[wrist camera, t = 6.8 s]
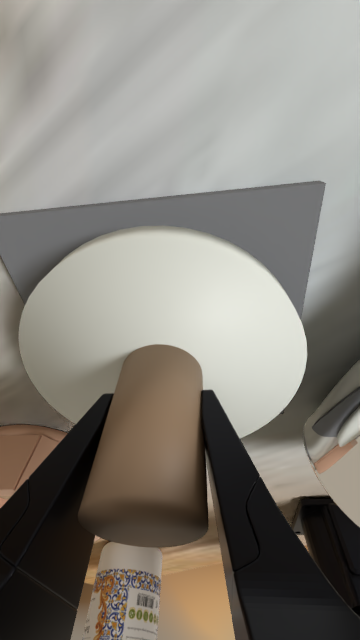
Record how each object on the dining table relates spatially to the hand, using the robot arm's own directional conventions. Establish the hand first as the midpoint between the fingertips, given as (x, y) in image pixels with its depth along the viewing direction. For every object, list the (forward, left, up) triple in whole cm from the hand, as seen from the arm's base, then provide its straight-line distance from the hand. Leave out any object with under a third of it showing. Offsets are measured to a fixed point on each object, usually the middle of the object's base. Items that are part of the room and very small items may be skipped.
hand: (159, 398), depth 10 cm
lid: (0, 0, -2) cm, 2 cm away
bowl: (-12, +11, -4) cm, 17 cm away
